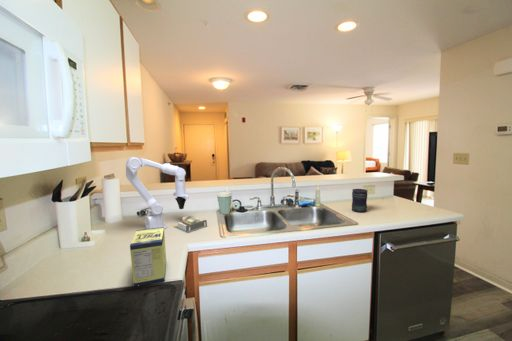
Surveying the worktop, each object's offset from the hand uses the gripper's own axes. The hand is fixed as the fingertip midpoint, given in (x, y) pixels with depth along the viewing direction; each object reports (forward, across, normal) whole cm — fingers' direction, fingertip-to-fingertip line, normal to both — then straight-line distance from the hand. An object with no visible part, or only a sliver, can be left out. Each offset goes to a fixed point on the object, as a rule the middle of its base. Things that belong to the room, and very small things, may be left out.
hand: (181, 208), depth 145 cm
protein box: (+10, -42, +37) cm, 57 cm away
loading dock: (+10, -8, 0) cm, 13 cm away
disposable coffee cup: (+10, -4, -31) cm, 33 cm away
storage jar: (+10, -74, -95) cm, 121 cm away
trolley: (+8, -11, 0) cm, 14 cm away
